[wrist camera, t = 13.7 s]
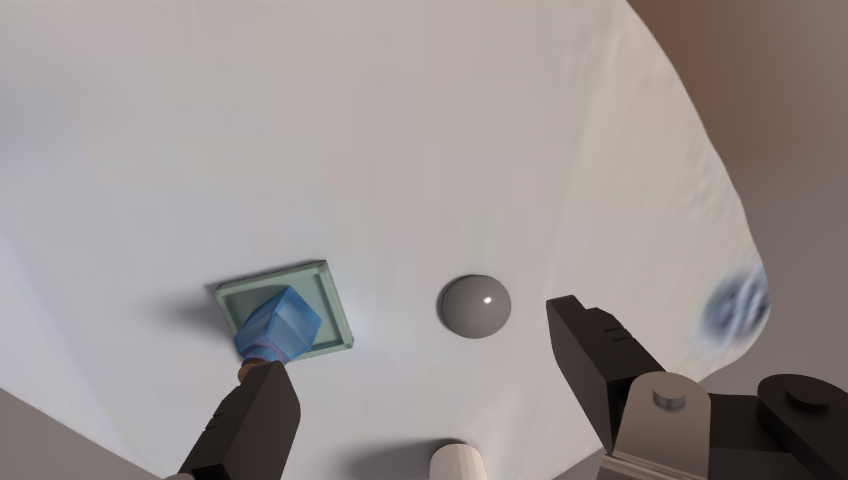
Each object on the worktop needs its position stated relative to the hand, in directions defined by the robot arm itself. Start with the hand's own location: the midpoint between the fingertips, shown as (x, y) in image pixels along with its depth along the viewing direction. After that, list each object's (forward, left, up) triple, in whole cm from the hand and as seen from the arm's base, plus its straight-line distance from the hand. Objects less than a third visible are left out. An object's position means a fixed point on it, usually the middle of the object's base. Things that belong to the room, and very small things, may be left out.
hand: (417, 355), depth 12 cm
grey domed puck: (+20, +4, -36) cm, 41 cm away
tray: (+15, -20, -36) cm, 44 cm away
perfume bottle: (+15, -20, -36) cm, 44 cm away
